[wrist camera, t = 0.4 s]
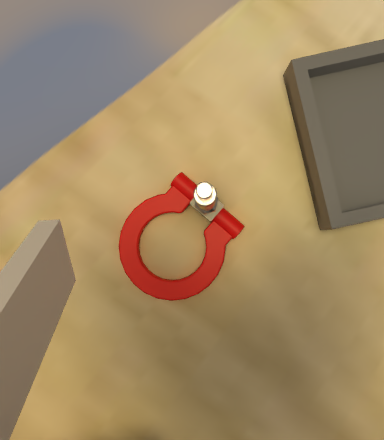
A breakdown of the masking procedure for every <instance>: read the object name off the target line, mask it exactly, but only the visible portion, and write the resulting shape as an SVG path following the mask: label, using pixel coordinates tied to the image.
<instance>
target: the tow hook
mask: <svg viewBox="0 0 384 440" xmlns="http://www.w3.org/2000/svg"><path fill="white" fill-rule="evenodd" d="M171 186H172V187H171V188H170V189H169V190H168V192H167V193H166V194H161V195H157V196H154V197H152V198H150V199H147V200H145V201H144V202H143V203H141V204H140V205H139V206H137V207H136V208H135V209H134V210H133V211H132V213H131V214H130V215H129V216H128V218H127V219H126V221H125V223H124V226H123V228H122V230H121V234H120V241H119V252H120V260H121V263H122V265H123V268H124V270H125V273H126V274H127V276H128V277H129V278H130V280H131V281H132V282H133V284H134V285H136V286H137V287H138V288H139V289H141V290H142V291H143V292H144V293H146V294H149V295H151V296H153V297H155V298H158V299H165V300H180V299H186V298H189V297H191V296H194V295H196V294H198V293H200V292H201V291H203V290H204V289H205V288H207V287H208V286H209V285H210V284H211V283H212V281H213V280H214V279H215V278H216V276H217V275H218V273H219V271H220V269H221V266H222V264H223V262H224V255H225V248H226V247H225V245H226V244H227V243H228V242H229V241H230V240H231V239H234V238H235V237H236V236H237V235H238V234H239V233H240V232H241V231H242V229H243V228H244V225H243V224H242V223H240V222H239V221H238V220H237V219H236V218H235V217H233V216H232V215H231V214H230V213H229V212H228V211H226V210H225V209H224V208H223V207H224V204H222V203H221V202H220V201H219V200H218V197H217V193H216V189H215V188H214V187H213V186H212V185H211V184H209V183H208V182H201V183H199V184H198V185H196V184H195V183H194V182H193V181H191V180H190V179H189V178H188V177H187V176H186V175H184V174H183V173H182V172H181V173H180V174H178V175H177V176H176V177H175V178H174V180H173V181H172V183H171ZM189 204H191V205H192V206H193V207H194V208H195V209H196V210H197V211H198V212H200V213H201V214H202V215H203V216H204V217H205V218H207V219H208V220H209V221H212V222H211V223H210V225H209V226H208V227H207V228H206V229H205V230H204V236H205V239H206V254H205V257H204V260H203V262H202V264H201V265H200V267H199V268H198V269H197V270H196V271H195V272H194V273H193V274H191V275H190V276H188V277H185V278H183V279H179V280H167V279H163V278H160V277H158V276H156V275H154V274H153V273H152V272H151V271H149V270H148V269H147V267H146V266H145V264H144V263H143V261H142V258H141V256H140V250H139V242H140V236H141V234H142V232H143V229H144V228H145V227H146V225H147V224H148V223H149V222H150V221H151V220H152V219H154V218H155V217H156V216H159V215H161V214H164V213H171V212H175V213H182V212H183V211H184V210H185V209H186V208H187V207H188V206H189ZM222 208H223V209H222Z"/></svg>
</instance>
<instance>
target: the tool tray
mask: <svg viewBox="0 0 384 440" xmlns="http://www.w3.org/2000/svg"><path fill="white" fill-rule="evenodd" d="M283 77H284V81H285V85H286V89H287V93H288V98H289V102H290V106H291V110H292V114H293V119H294V123H295V127H296V131H297V135H298V140H299V144H300V148H301V152H302V156H303V161H304V165H305V169H306V173H307V177H308V182H309V186H310V190H311V194H312V198H313V203H314V207H315V211H316V215H317V219H318V224H319V228H320V230H327V229H335V228H340V227H344V226H349V225H354V224H358V223H363V222H367V221H372V220H376V219H381V218H384V39H383V40H378V41H374V42H369V43H365V44H360V45H356V46H351V47H347V48H342V49H338V50H333V51H329V52H324V53H320V54H316V55H311V56H307V57H302V58H298V59H293V60H291V62H290V63H289V65H288V67H287V69H286V71H285V73H284V75H283Z"/></svg>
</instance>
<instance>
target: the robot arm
mask: <svg viewBox="0 0 384 440" xmlns="http://www.w3.org/2000/svg"><path fill="white" fill-rule="evenodd" d="M75 281H76V280H75V276H74V272H73V268H72V264H71V261H70V257H69V253H68V249H67V245H66V241H65V238H64V234H63V230H62V226H61V222H60V220H43V221H38V222H37V223H36V225H35V226H34V227H33V229H32V230H31V231H30V233H29V234H28V235H27V237H26V238H25V239H24V241H23V242H22V244H21V245H20V246H19V248H18V249H17V250H16V252H15V253H14V254H13V256H12V257H11V258H10V260H9V261H8V262H7V264H6V265H5V266H4V268H3V269H2V270H1V272H0V440H9V439H10V437H11V434H12V432H13V429H14V427H15V425H16V422H17V420H18V417H19V415H20V413H21V410H22V408H23V405H24V403H25V401H26V398H27V396H28V393H29V391H30V389H31V386H32V384H33V381H34V379H35V377H36V374H37V372H38V369H39V367H40V365H41V362H42V360H43V357H44V355H45V353H46V350H47V348H48V345H49V343H50V341H51V338H52V336H53V333H54V331H55V329H56V326H57V324H58V321H59V319H60V317H61V314H62V312H63V309H64V307H65V305H66V302H67V300H68V297H69V295H70V293H71V290H72V288H73V285H74V283H75Z"/></svg>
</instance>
